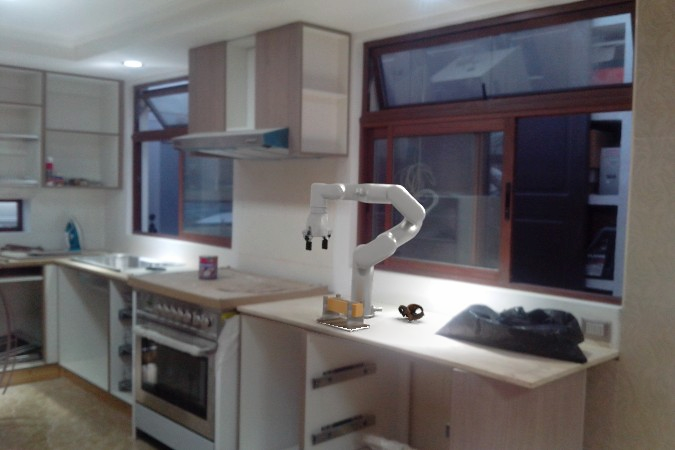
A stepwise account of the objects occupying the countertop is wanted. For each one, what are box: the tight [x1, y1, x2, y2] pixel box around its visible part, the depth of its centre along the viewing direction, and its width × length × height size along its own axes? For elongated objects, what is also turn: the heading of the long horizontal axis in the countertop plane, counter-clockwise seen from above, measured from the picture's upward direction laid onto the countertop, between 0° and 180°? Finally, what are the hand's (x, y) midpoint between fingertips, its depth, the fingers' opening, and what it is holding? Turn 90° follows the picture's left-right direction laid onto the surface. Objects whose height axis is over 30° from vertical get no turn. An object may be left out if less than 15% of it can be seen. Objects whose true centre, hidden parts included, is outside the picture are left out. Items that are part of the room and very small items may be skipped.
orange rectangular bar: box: [327, 295, 363, 317], centre depth 264 cm, size 18×4×5 cm, turn 45°
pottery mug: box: [397, 303, 425, 322], centre depth 280 cm, size 12×10×8 cm
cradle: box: [316, 293, 370, 330], centre depth 264 cm, size 20×11×11 cm, turn 45°
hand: (316, 249), depth 282 cm, fingers open, 9 cm apart
